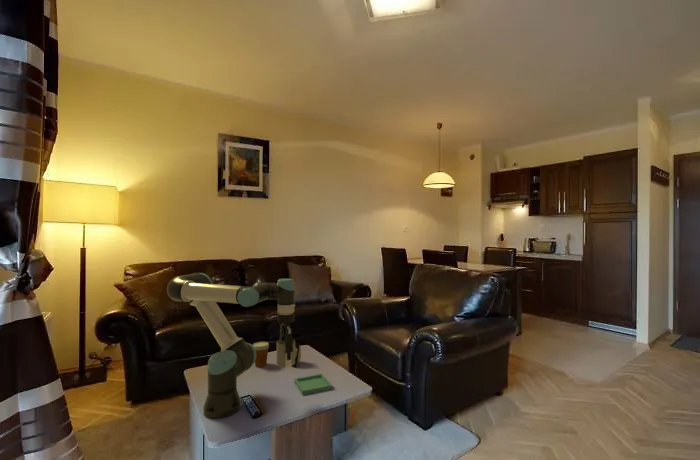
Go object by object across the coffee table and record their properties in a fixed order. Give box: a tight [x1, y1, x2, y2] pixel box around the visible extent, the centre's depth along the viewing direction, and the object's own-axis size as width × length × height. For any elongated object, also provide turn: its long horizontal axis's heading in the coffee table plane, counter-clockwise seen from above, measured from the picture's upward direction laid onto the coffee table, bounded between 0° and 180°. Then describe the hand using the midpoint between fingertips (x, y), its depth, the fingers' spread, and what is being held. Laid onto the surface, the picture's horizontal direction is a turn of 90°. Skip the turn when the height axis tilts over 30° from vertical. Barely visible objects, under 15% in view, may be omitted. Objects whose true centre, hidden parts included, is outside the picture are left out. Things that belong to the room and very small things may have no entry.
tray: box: [293, 373, 333, 396], centre depth 168 cm, size 15×15×2 cm
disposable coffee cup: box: [252, 341, 270, 368], centre depth 194 cm, size 10×10×12 cm
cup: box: [276, 338, 296, 368], centre depth 153 cm, size 8×8×10 cm
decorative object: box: [291, 342, 302, 368], centre depth 196 cm, size 13×10×10 cm
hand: (285, 362), depth 153 cm, fingers closed on cup, 8 cm apart
